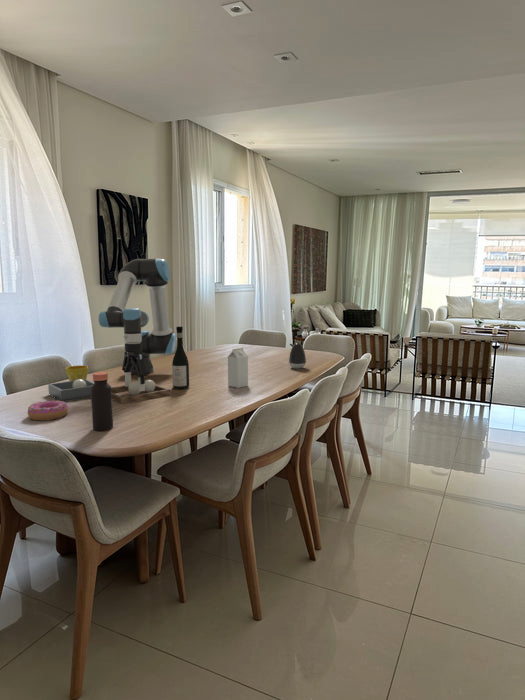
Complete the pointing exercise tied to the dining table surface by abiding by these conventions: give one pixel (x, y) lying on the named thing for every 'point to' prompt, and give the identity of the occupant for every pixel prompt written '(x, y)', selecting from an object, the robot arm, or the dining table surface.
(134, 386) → the pebble
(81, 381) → the off-white glossy ball
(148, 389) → the pebble
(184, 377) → the wine bottle
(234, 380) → the milk carton
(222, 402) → the dining table surface
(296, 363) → the pump dispenser
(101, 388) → the vinegar
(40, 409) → the donut
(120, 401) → the tray
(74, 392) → the grey shallow box
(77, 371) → the plant pot
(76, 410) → the dining table surface
